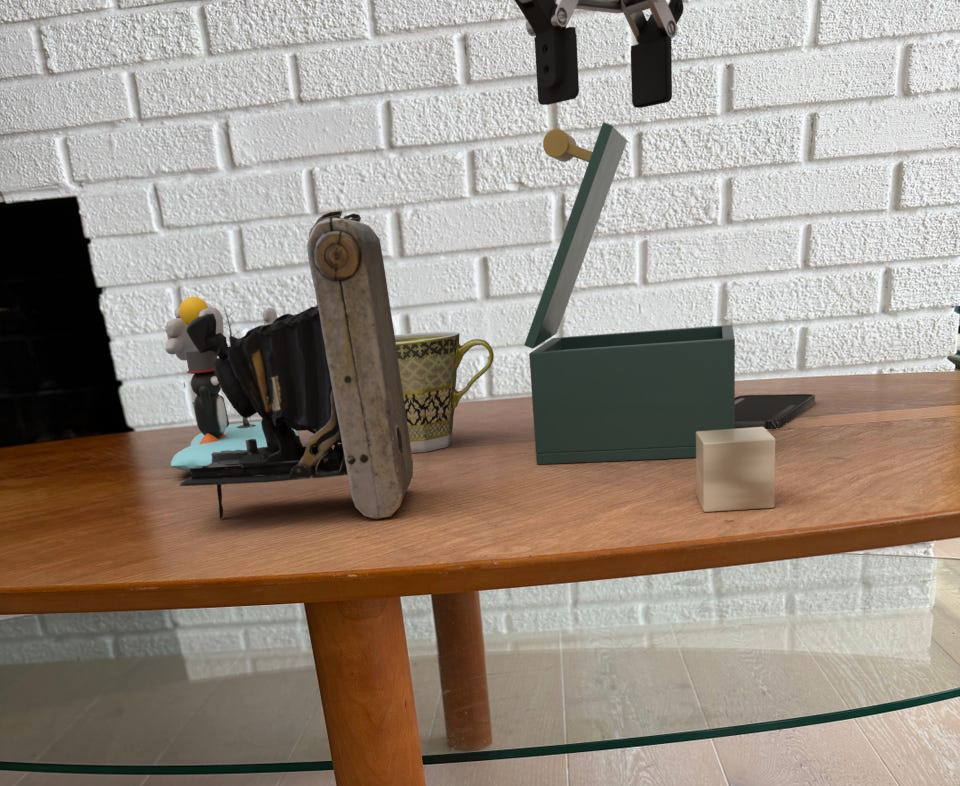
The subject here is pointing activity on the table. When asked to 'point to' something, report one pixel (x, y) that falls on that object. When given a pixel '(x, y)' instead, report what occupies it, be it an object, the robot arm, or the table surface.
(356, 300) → the vintage camera
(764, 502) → the block
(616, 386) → the chest
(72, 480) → the table surface
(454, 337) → the ceramic cup
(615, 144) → the lid
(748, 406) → the phone
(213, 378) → the penguin figurine
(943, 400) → the table surface
